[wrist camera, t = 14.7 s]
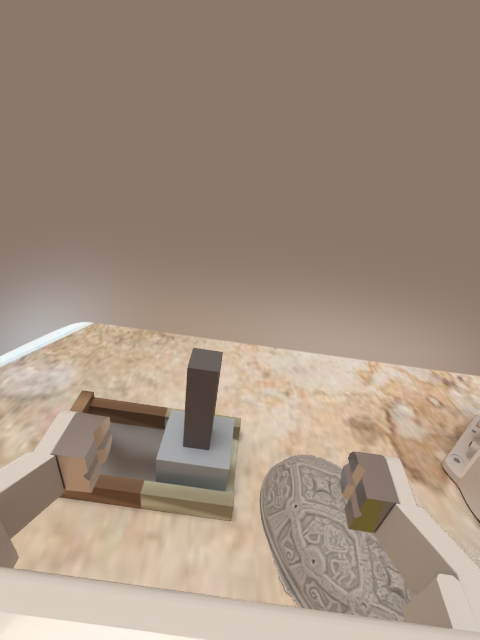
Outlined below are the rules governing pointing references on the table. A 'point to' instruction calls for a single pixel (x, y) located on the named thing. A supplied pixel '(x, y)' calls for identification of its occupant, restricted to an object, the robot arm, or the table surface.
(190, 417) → the grey pillar on base
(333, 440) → the table surface
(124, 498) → the bay
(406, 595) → the carved turtle shell
